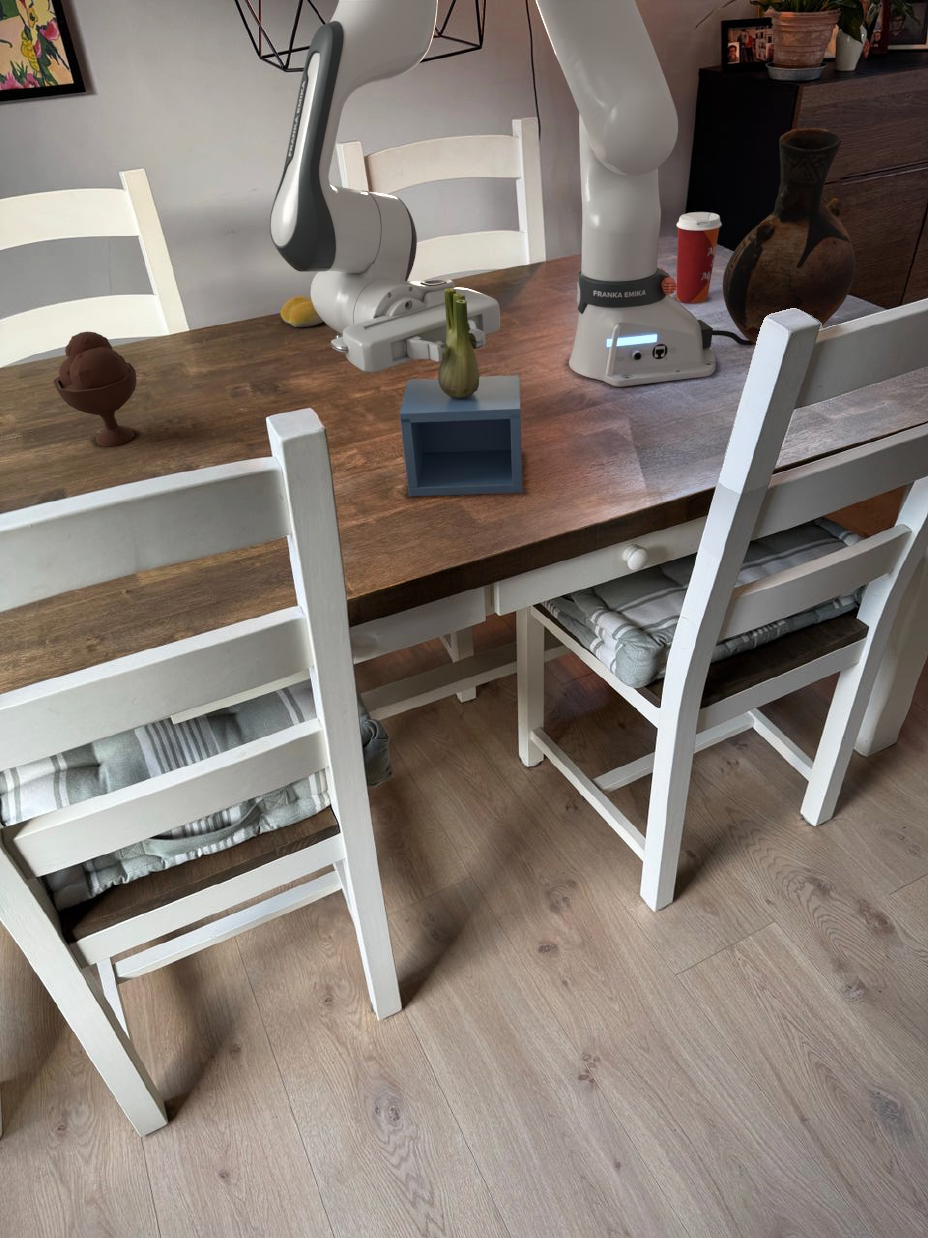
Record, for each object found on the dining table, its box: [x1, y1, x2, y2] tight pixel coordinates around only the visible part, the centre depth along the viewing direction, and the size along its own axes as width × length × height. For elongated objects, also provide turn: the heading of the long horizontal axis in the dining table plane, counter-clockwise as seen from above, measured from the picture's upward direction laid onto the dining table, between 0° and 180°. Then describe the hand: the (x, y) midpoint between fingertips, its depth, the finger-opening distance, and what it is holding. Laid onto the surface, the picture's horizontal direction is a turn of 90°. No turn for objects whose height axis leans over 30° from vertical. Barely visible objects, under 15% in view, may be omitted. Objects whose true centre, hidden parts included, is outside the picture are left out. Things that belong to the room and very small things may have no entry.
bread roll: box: [280, 295, 325, 328], centre depth 160 cm, size 8×9×4 cm
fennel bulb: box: [437, 288, 480, 398], centre depth 99 cm, size 6×5×12 cm
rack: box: [399, 374, 523, 497], centre depth 106 cm, size 14×10×11 cm
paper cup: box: [675, 211, 723, 304], centre depth 153 cm, size 8×8×14 cm
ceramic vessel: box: [722, 127, 856, 344], centre depth 129 cm, size 21×18×30 cm
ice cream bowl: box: [52, 331, 137, 448], centre depth 120 cm, size 11×11×15 cm
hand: (462, 347), depth 98 cm, fingers open, 4 cm apart
